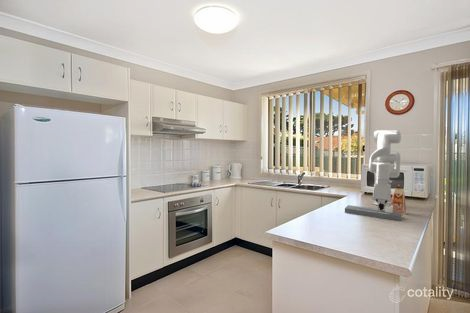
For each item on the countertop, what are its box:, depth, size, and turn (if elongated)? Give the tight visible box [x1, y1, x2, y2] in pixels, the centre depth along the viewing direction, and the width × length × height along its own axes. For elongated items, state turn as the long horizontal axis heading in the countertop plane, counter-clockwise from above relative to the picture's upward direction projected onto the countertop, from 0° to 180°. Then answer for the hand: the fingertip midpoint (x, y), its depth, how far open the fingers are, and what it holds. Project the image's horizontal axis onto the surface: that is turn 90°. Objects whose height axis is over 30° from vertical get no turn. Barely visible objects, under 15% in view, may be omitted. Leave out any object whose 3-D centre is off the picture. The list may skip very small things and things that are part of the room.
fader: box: [384, 204, 393, 213], centre depth 163 cm, size 5×4×4 cm
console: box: [344, 204, 402, 222], centre depth 168 cm, size 12×32×3 cm, turn 56°
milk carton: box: [390, 184, 407, 216], centre depth 176 cm, size 9×9×20 cm
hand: (381, 209), depth 165 cm, fingers closed
